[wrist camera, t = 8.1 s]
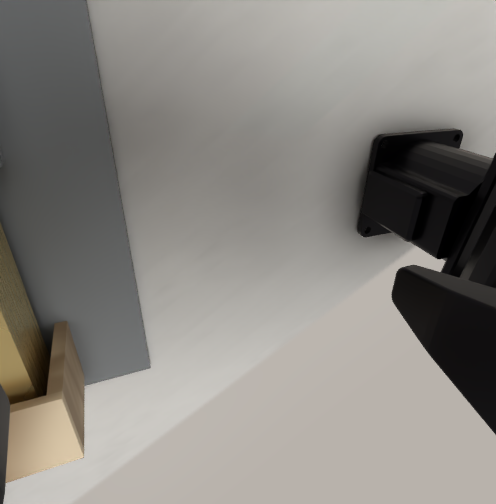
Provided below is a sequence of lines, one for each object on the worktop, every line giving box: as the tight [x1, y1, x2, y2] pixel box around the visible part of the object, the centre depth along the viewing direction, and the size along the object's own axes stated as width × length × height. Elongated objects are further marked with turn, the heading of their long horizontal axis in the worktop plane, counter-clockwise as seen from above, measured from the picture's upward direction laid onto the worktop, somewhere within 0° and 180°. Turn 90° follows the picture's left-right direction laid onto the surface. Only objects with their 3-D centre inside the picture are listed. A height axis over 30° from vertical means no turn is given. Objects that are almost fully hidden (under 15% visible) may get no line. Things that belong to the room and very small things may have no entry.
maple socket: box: [6, 321, 84, 483], centre depth 17 cm, size 6×4×5 cm
